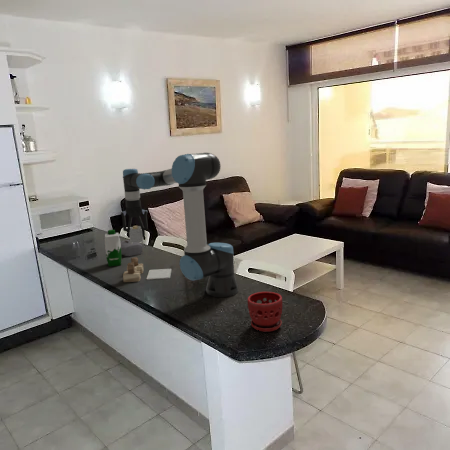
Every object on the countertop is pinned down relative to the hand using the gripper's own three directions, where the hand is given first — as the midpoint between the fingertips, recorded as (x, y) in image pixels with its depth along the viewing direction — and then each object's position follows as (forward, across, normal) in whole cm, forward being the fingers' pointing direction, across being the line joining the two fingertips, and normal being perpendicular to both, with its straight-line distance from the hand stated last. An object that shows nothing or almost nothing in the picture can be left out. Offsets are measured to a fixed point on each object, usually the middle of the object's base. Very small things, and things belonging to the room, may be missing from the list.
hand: (137, 243), depth 213 cm
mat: (+18, -10, 0) cm, 21 cm away
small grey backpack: (+18, +12, -48) cm, 53 cm away
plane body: (+18, +3, -1) cm, 18 cm away
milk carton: (+18, +18, -24) cm, 35 cm away
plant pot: (+20, -55, +67) cm, 89 cm away
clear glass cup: (-1, 0, 0) cm, 1 cm away
